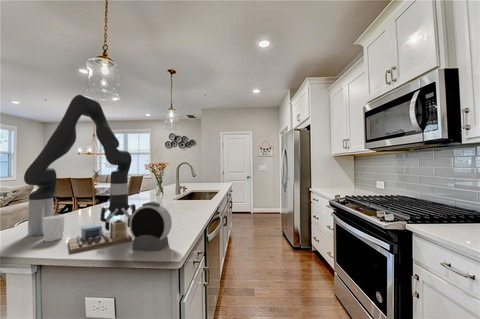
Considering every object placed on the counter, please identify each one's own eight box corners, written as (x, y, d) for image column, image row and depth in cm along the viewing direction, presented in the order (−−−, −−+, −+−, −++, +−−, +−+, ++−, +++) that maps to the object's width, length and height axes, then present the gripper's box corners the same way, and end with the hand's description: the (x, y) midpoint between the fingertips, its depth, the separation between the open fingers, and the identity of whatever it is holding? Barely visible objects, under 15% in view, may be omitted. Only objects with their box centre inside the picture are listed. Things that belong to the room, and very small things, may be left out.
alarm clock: (124, 250, 88) (125, 204, 89) (139, 241, 98) (140, 200, 99) (163, 252, 86) (163, 204, 86) (174, 243, 96) (174, 200, 97)
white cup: (51, 242, 98) (52, 219, 98) (37, 241, 99) (37, 218, 99) (68, 236, 105) (69, 215, 106) (55, 235, 107) (55, 214, 107)
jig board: (68, 243, 97) (68, 223, 97) (124, 233, 111) (124, 216, 111) (70, 253, 85) (70, 230, 85) (132, 240, 99) (132, 221, 99)
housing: (81, 237, 99) (81, 226, 99) (99, 234, 104) (99, 223, 104) (82, 240, 94) (82, 229, 95) (101, 237, 99) (101, 226, 99)
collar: (110, 235, 103) (110, 222, 103) (123, 232, 106) (123, 220, 106) (112, 238, 98) (112, 224, 99) (126, 235, 102) (126, 222, 102)
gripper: (133, 191, 110) (133, 224, 110) (99, 193, 101) (99, 229, 101) (137, 192, 105) (137, 227, 104) (102, 195, 96) (101, 233, 95)
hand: (118, 228), depth 102 cm, fingers open, 8 cm apart
